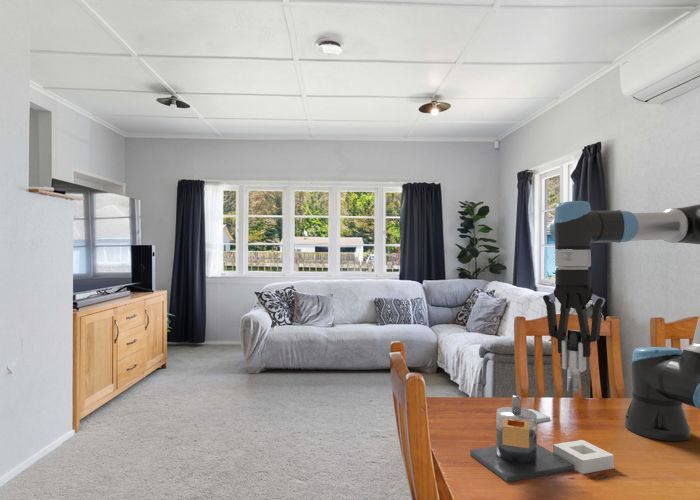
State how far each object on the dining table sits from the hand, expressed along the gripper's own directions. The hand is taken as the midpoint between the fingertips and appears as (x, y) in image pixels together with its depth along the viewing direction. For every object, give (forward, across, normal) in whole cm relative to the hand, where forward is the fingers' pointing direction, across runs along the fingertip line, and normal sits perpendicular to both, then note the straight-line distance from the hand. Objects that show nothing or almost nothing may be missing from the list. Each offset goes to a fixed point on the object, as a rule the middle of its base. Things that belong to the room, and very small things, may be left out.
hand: (574, 369), depth 108 cm
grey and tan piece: (+15, -10, -10) cm, 20 cm away
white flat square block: (+22, +1, +2) cm, 22 cm away
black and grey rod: (+5, 0, 0) cm, 5 cm away
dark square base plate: (+22, -10, -8) cm, 25 cm away
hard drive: (+23, -21, +21) cm, 38 cm away
